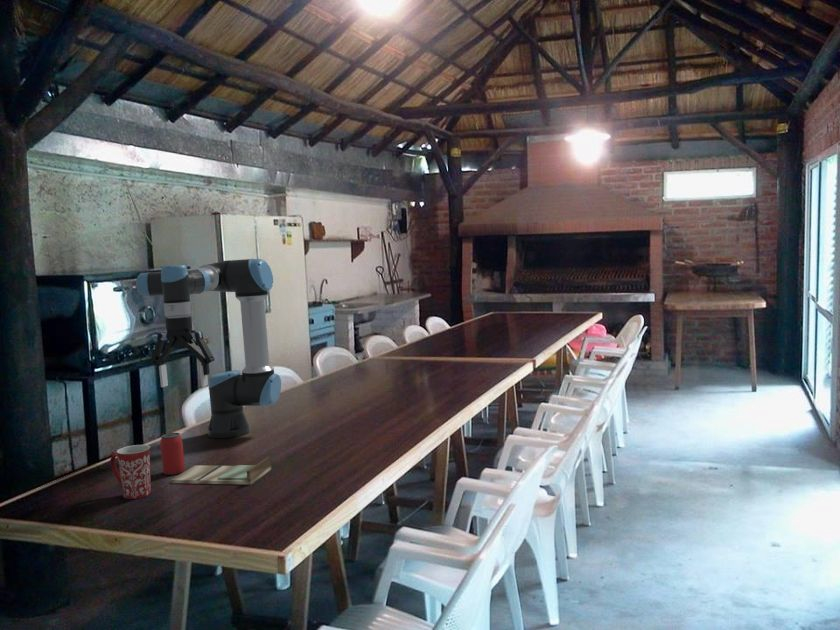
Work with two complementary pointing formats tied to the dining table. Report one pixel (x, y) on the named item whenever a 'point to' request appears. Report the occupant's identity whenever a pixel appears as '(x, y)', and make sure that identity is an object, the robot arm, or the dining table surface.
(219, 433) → the robot arm
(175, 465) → the beer can
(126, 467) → the mug
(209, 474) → the beige green bent panel
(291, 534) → the dining table surface
